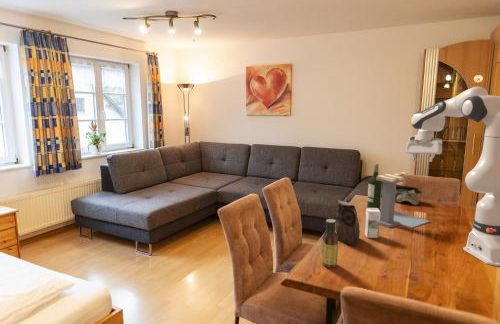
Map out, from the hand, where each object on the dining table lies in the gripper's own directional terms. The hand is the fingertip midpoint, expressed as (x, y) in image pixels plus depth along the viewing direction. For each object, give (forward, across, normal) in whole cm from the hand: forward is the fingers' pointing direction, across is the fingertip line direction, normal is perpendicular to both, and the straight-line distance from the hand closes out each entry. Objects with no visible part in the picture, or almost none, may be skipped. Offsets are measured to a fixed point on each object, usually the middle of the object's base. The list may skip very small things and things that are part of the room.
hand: (422, 161), depth 196 cm
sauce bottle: (+57, -13, +80) cm, 100 cm away
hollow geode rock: (+25, +28, -25) cm, 45 cm away
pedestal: (+39, +5, +19) cm, 44 cm away
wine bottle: (+33, +25, +5) cm, 42 cm away
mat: (+36, +5, +6) cm, 36 cm away
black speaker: (+49, 0, +54) cm, 73 cm away
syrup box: (+46, -3, +41) cm, 62 cm away
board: (+13, +2, +21) cm, 25 cm away
